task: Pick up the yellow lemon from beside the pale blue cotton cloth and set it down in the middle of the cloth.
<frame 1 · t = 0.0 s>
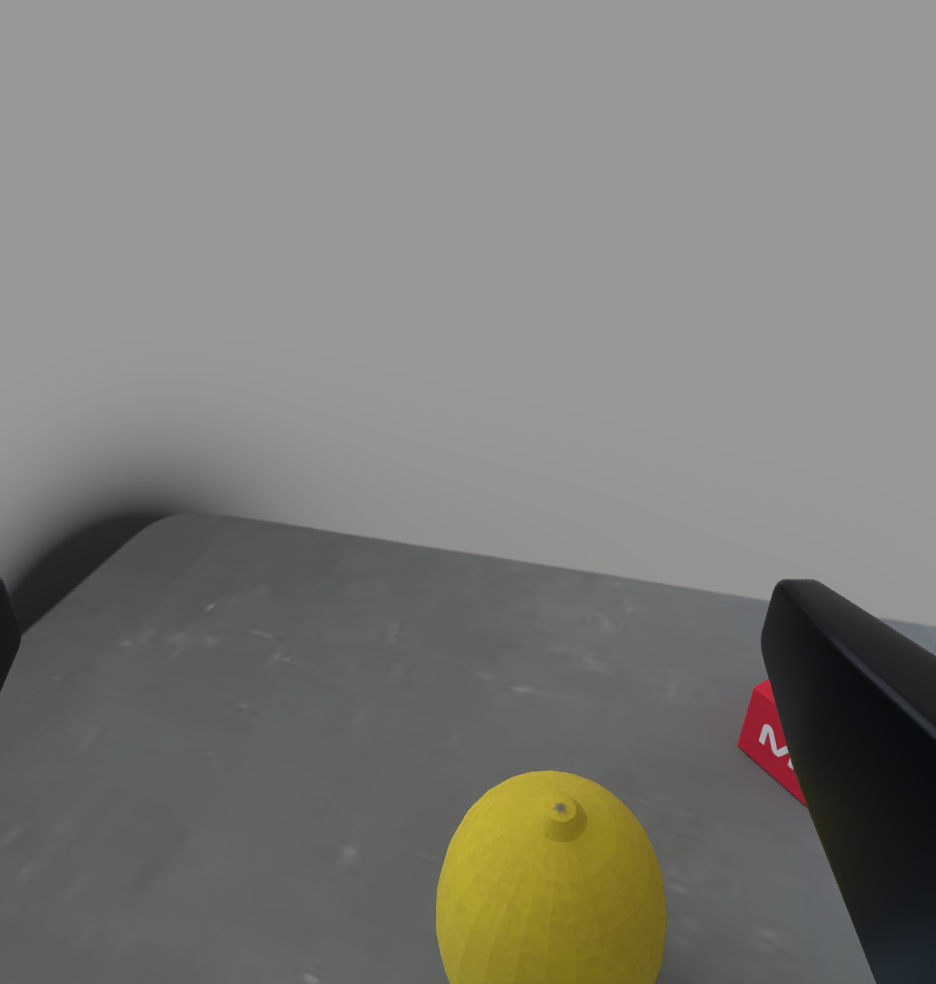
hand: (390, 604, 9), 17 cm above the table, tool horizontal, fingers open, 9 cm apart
dice: (796, 760, 27), on the table
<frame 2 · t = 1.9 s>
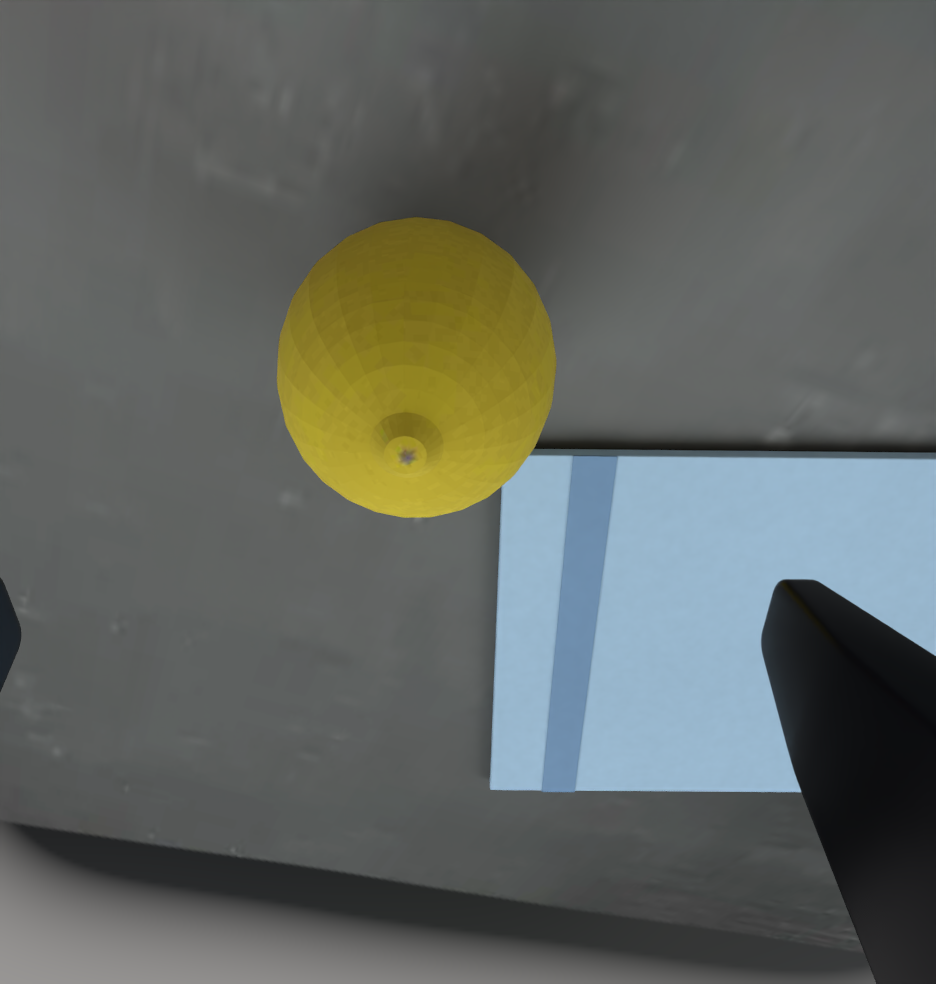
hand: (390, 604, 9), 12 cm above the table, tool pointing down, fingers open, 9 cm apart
cloth: (802, 641, 24), on the table
lemon: (428, 302, 19), on the table
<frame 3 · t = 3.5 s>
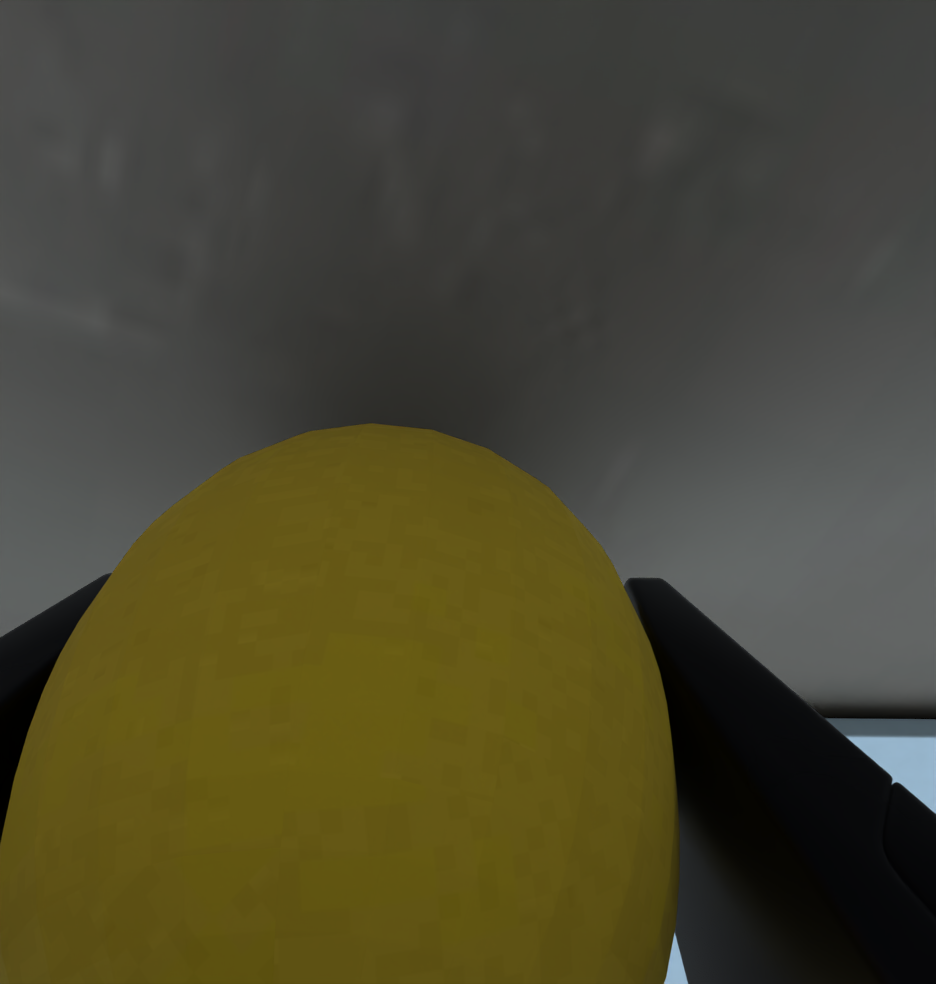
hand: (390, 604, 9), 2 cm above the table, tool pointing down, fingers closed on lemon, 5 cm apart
lemon: (403, 503, 11), on the table, touching gripper
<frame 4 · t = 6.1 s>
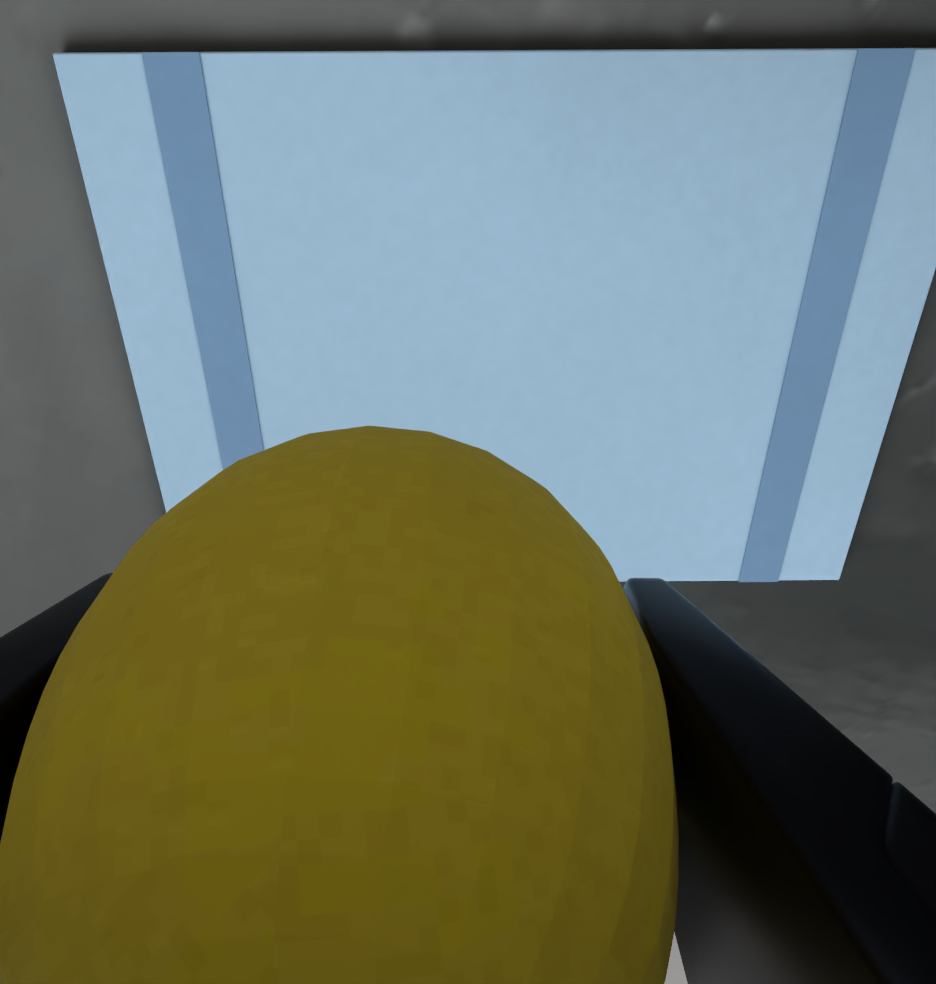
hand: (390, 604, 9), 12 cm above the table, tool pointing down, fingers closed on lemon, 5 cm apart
cloth: (518, 360, 20), on the table
lemon: (402, 505, 11), point 10 cm above the table, touching gripper
when the fingers open (2 cm above the table, at t = 9.1 s): lemon stays where it is, resting on cloth.
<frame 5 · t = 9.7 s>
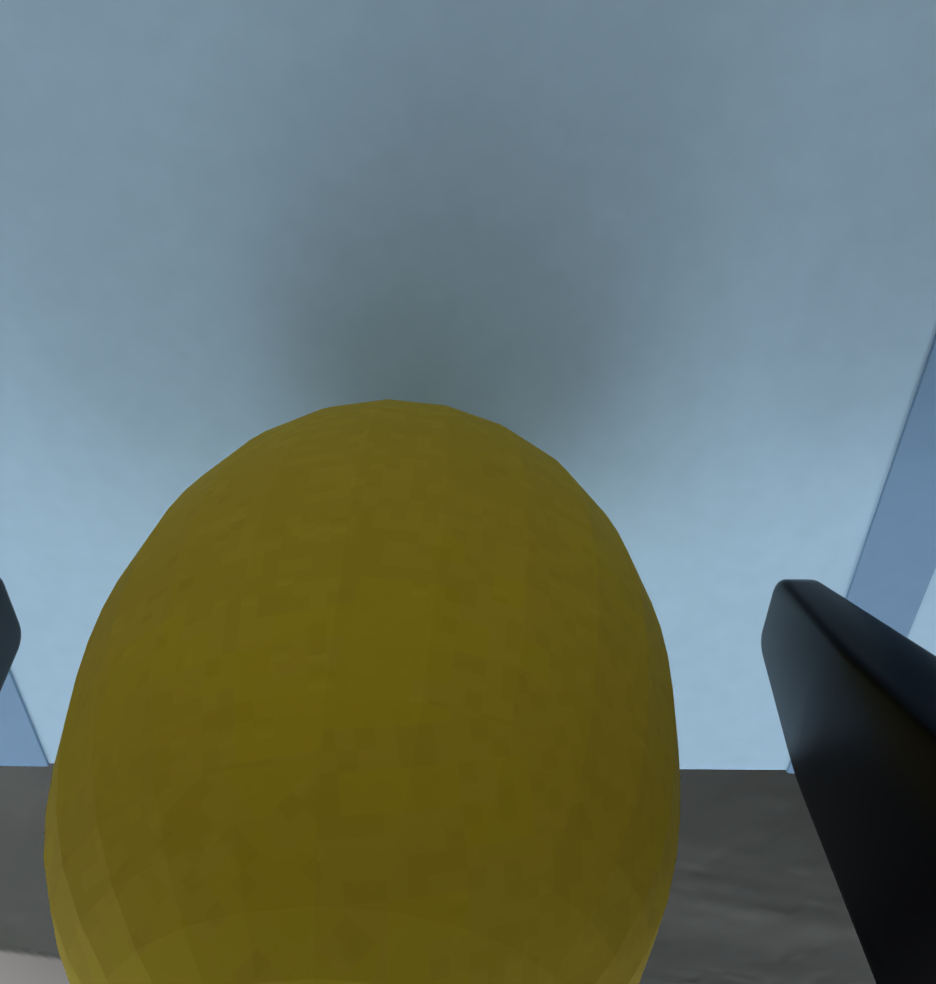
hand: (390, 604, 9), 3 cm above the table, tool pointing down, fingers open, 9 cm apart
cloth: (408, 419, 11), on the table
lemon: (414, 483, 11), resting on cloth
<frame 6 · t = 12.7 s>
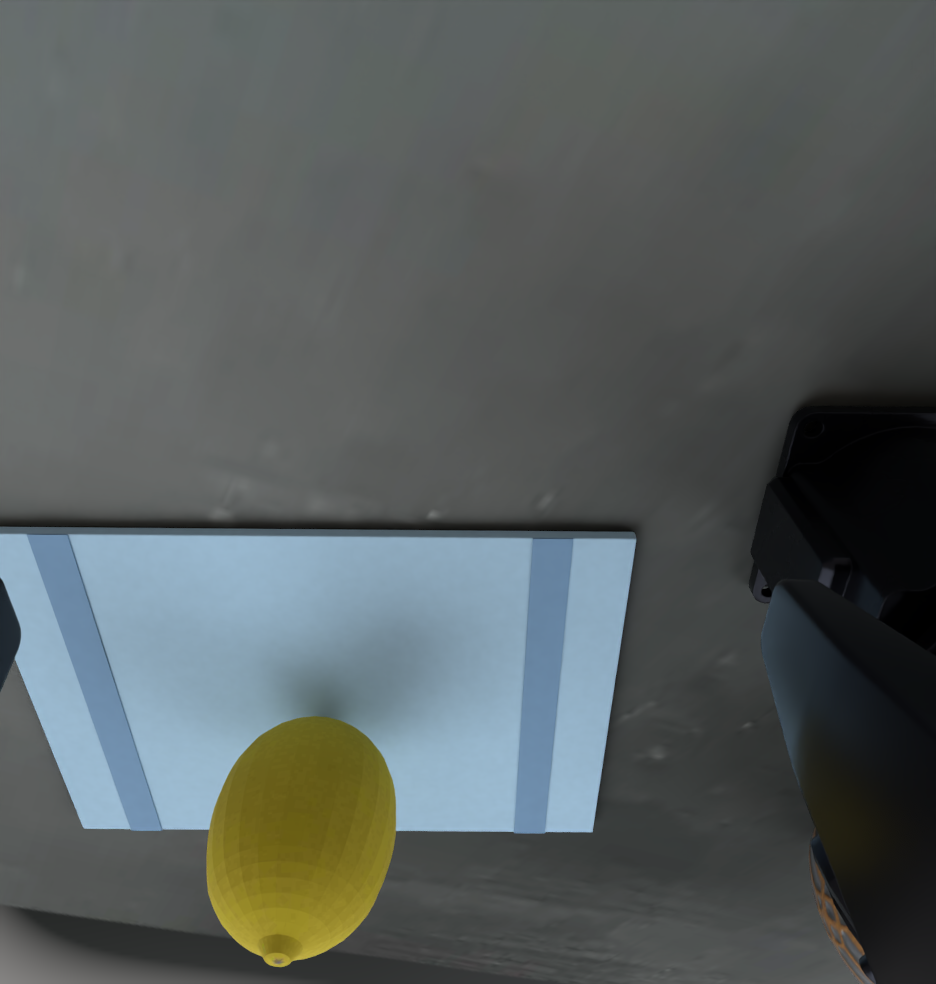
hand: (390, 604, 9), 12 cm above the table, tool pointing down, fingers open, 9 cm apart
cloth: (323, 695, 26), on the table
vase: (872, 805, 30), on the table
lemon: (327, 719, 27), resting on cloth
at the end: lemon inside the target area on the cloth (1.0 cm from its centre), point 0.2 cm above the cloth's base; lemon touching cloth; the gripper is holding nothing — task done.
